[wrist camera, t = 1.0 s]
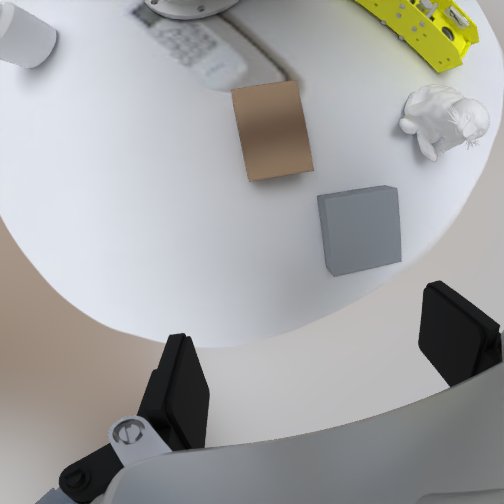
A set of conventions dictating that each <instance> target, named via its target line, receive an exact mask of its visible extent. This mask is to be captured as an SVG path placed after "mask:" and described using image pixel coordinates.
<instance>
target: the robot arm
mask: <svg viewBox="0 0 504 504" xmlns="http://www.w3.org/2000/svg"><path fill="white" fill-rule="evenodd" d="M238 1H239V0H144V2H145V3H146V4H147V6H148V7H149V8H150V9H151V10H153V11H154V12H155V13H157V14H160V15H162V16H164V17H168V18H173V19H183V20H185V19H197V18H203V17H208V16H211V15H214V14H217V13H219V12H222V11H224V10H226V9H228V8H230V7H231V6H233V5H234V4H236V3H237V2H238ZM201 11H202V12H201ZM499 328H500V325H499V324H498V323H497V322H495V321H494V320H493V319H491V318H490V317H489V316H487V315H486V314H485V313H484V312H483V311H481V310H480V309H479V308H477V307H476V306H475V305H473V304H472V303H471V302H469V301H468V300H467V299H465V298H464V297H463V296H461V295H460V294H459V293H457V292H456V291H455V290H453V289H452V288H450V287H449V286H448V285H446V284H445V283H443V282H442V281H435V282H432V283H428V284H427V286H426V288H425V289H424V291H423V303H422V314H421V324H420V333H419V340H418V345H419V348H420V350H421V351H422V353H423V354H424V355H425V356H426V357H427V359H428V360H429V361H430V362H431V363H432V365H433V366H434V367H435V368H436V370H437V371H438V372H439V373H440V375H441V376H442V377H443V378H444V380H445V381H446V382H447V384H448V385H449V386H450V388H448V389H446V390H443V391H441V392H439V393H436V394H434V395H431V396H429V397H427V398H424V399H421V400H419V401H416V402H414V403H411V404H408V405H405V406H403V407H400V408H397V409H394V410H391V411H388V412H385V413H382V414H379V415H376V416H373V417H370V418H366V419H363V420H359V421H356V422H352V423H348V424H345V425H341V426H337V427H333V428H329V429H325V430H320V431H316V432H311V433H306V434H302V435H296V436H291V437H286V438H280V439H274V440H268V441H261V442H254V443H246V444H238V445H229V446H220V447H210V448H205V437H206V426H207V417H208V407H209V397H210V393H209V388H208V385H207V382H206V379H205V377H204V374H203V371H202V368H201V365H200V363H199V359H198V357H197V354H196V351H195V348H194V345H193V342H192V339H191V337H190V336H187V337H186V335H185V334H184V333H181V334H173V335H169V337H168V340H167V343H166V345H165V348H164V351H163V354H162V357H161V359H160V362H159V365H158V368H157V369H155V370H153V372H152V374H151V377H150V379H149V382H148V385H147V388H146V391H145V393H144V396H143V399H142V402H141V404H140V407H139V411H138V413H137V416H127V417H124V418H122V419H119V420H118V421H116V422H115V423H114V424H113V425H112V426H111V428H110V430H109V433H108V438H109V441H110V443H109V444H107V445H105V446H104V447H102V448H100V449H98V450H97V451H95V452H93V453H91V454H90V455H88V456H86V457H84V458H82V459H81V460H79V461H77V462H75V463H73V464H71V465H69V466H68V467H67V468H65V469H64V471H63V472H62V473H61V475H60V477H59V486H60V487H59V488H58V489H57V490H55V489H54V488H52V489H51V490H50V491H49V492H47V493H46V494H45V495H44V496H43V497H42V498H41V499H40V500H39V501H37V502H36V503H35V504H504V330H503V332H502V333H499Z"/></svg>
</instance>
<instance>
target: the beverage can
mask: <svg viewBox="0 0 504 504" xmlns="http://www.w3.org/2000/svg"><path fill="white" fill-rule="evenodd" d="M55 42H56V31H55V29H54V28H53V27H52V26H50V25H49V24H47V23H46V22H44V21H42V20H41V19H39V18H37V17H35V16H34V15H32V14H30V13H29V12H27V11H25V10H23V9H22V8H20V7H18V6H16V5H14V4H13V3H10V2H6V3H1V4H0V60H3V61H6V62H9V63H13V64H16V65H19V66H22V67H25V68H33V67H36V66H38V65H39V64H41V63H42V62H43V61H44V60H45V59H46V58H47V57H48V56H49V54H50V53H51V51H52V49H53V47H54V45H55Z"/></svg>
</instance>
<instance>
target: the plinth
mask: <svg viewBox="0 0 504 504" xmlns="http://www.w3.org/2000/svg"><path fill="white" fill-rule="evenodd" d="M317 199H318V206H319V213H320V220H321V227H322V235H323V243H324V251H325V260H326V267H327V269H328V270H329V271H330V272H331V274H332V275H333V276H334V277H335V276H340V275H344V274H349V273H354V272H358V271H363V270H367V269H371V268H376V267H380V266H384V265H389V264H393V263H397V262H401V233H400V216H399V203H398V192H397V188H395V187H390V186H385V185H384V186H377V187H370V188H363V189H356V190H350V191H343V192H337V193H331V194H325V195H319V196H317Z"/></svg>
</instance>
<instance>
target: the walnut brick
mask: <svg viewBox="0 0 504 504" xmlns="http://www.w3.org/2000/svg"><path fill="white" fill-rule="evenodd" d="M231 93H232V100H233V106H234V111H235V116H236V121H237V126H238V131H239V136H240V141H241V146H242V151H243V156H244V161H245V166H246V171H247V177H248V180H249V182H251V181H256V180H261V179H267V178H273V177H278V176H284V175H290V174H296V173H302V172H309V171H314V167H313V162H312V156H311V150H310V145H309V139H308V134H307V129H306V124H305V119H304V114H303V109H302V104H301V99H300V95H299V90H298V86H297V81H296V80H294V81H285V82H277V83H270V84H263V85H256V86H250V87H244V88H238V89H233V90H231Z"/></svg>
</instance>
